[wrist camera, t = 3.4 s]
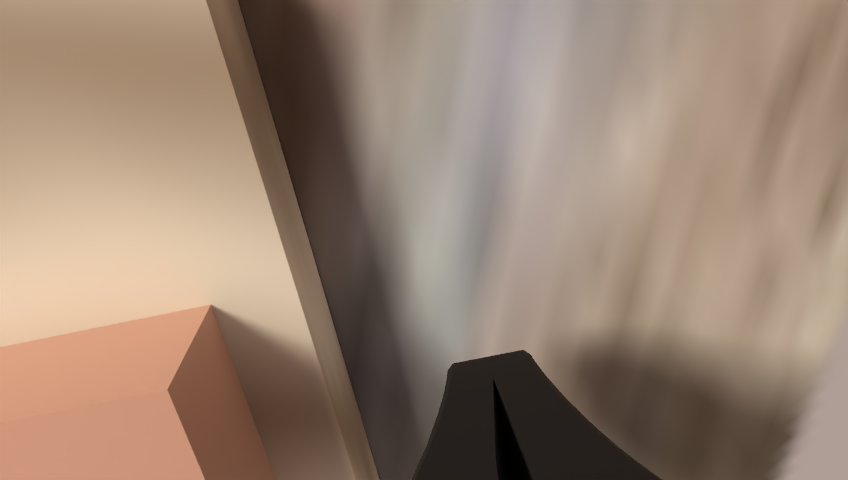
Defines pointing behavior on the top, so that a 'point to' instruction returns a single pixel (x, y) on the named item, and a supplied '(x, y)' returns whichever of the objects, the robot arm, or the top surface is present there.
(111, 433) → the block
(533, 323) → the top surface
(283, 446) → the board
